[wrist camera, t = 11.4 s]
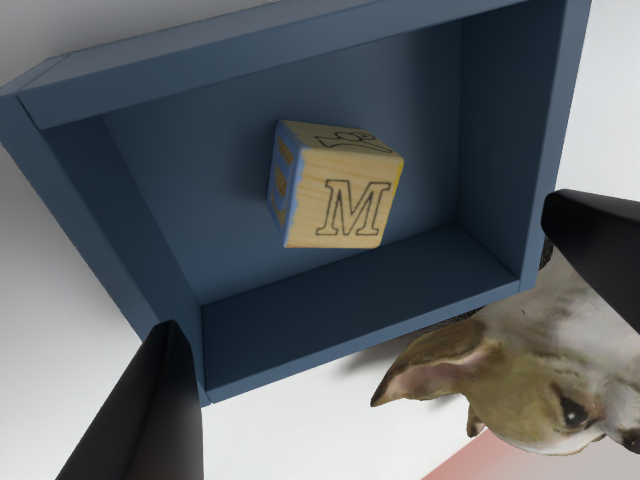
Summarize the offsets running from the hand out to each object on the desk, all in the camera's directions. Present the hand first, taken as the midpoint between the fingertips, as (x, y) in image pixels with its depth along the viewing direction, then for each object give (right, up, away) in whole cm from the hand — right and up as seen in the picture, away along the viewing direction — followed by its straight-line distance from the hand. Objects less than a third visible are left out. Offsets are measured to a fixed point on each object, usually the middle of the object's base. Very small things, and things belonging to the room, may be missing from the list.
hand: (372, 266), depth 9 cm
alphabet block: (-1, +3, +5) cm, 6 cm away
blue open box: (-2, +3, +5) cm, 6 cm away
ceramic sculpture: (+9, -3, +13) cm, 16 cm away
